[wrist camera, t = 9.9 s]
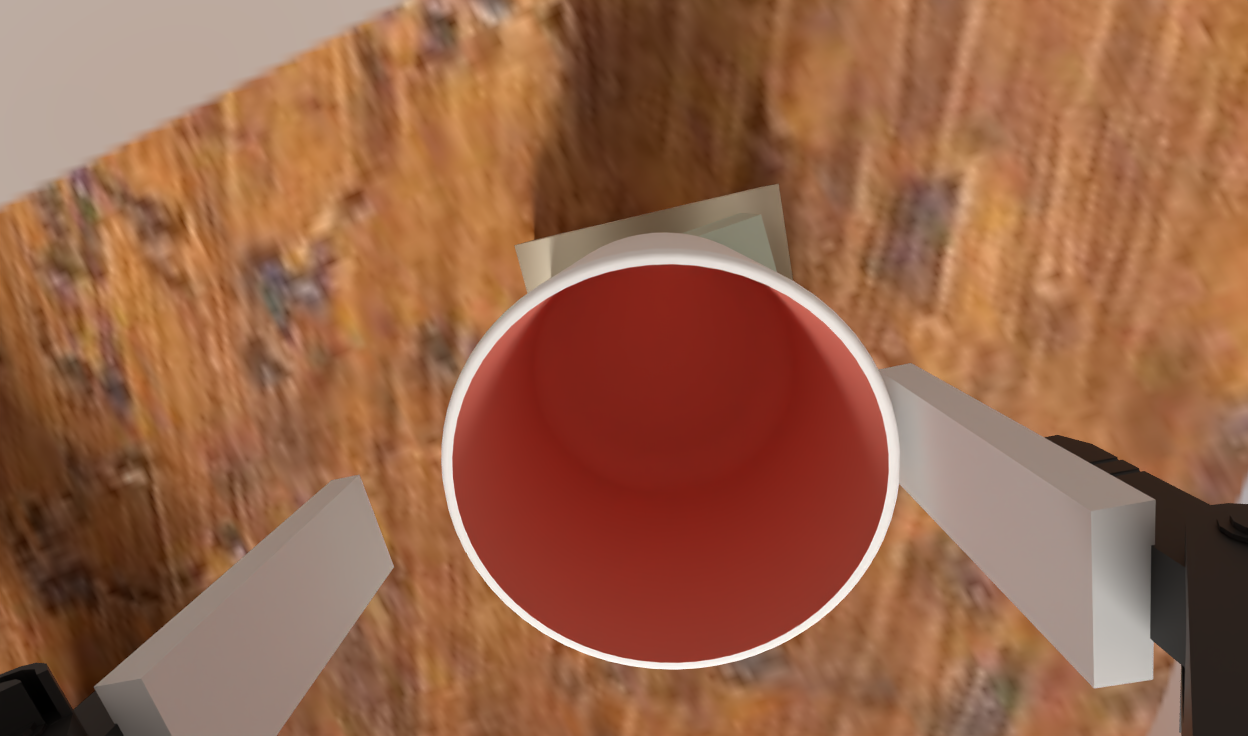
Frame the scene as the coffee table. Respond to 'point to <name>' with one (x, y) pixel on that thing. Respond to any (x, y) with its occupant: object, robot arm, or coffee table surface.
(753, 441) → the cup
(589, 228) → the tower base
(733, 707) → the coffee table surface
